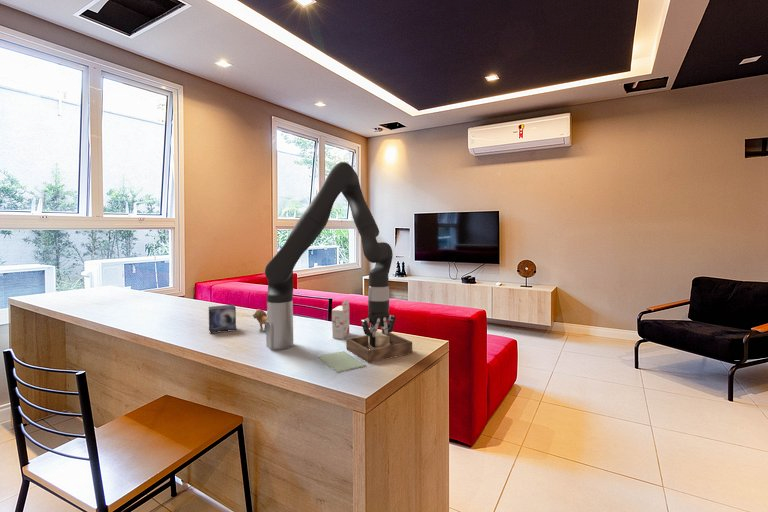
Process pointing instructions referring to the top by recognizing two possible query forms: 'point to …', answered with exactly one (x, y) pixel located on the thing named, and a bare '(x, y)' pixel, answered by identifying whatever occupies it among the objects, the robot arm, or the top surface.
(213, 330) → the small box
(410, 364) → the top surface
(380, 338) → the maple block
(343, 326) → the ink cartridge box
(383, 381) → the top surface
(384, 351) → the slot box
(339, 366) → the mat
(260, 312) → the lion figurine
